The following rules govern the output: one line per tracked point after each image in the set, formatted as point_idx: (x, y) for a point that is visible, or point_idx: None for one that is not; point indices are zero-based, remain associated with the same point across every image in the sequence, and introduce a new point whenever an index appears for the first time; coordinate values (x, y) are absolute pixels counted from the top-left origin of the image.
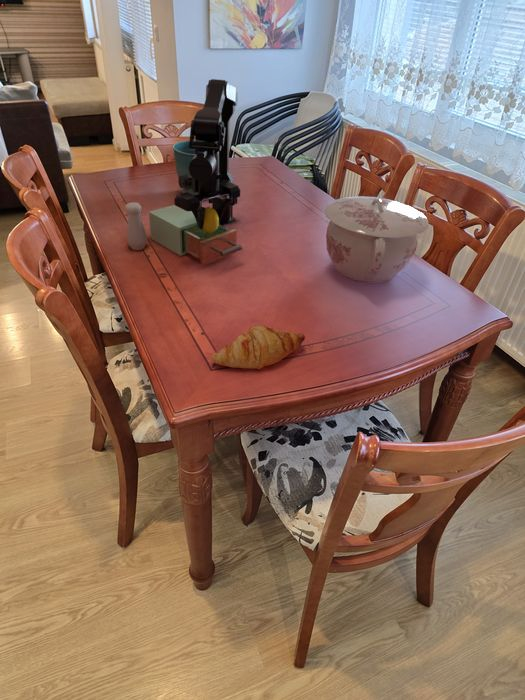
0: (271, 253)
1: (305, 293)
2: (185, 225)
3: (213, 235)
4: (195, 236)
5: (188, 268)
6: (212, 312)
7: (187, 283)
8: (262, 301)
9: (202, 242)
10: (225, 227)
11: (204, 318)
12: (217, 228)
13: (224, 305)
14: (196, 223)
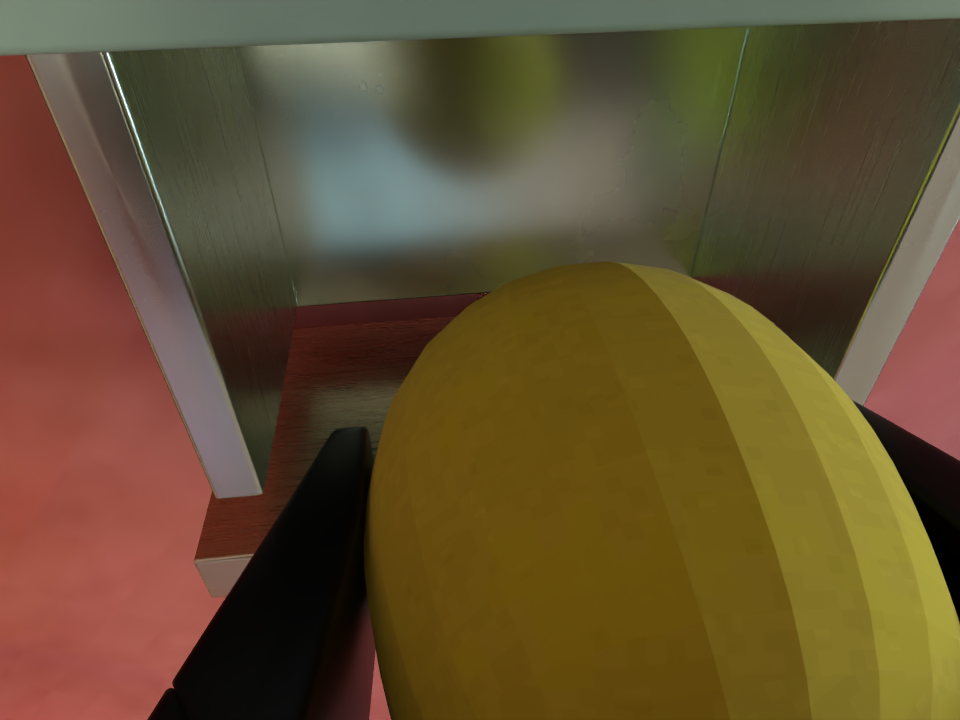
0: (902, 421)
1: None
2: (82, 28)
3: (796, 26)
4: (201, 423)
5: (112, 283)
6: (76, 696)
7: (11, 470)
8: (374, 700)
9: (212, 588)
10: (865, 386)
11: (11, 712)
12: (853, 202)
13: (170, 679)
14: (538, 26)
